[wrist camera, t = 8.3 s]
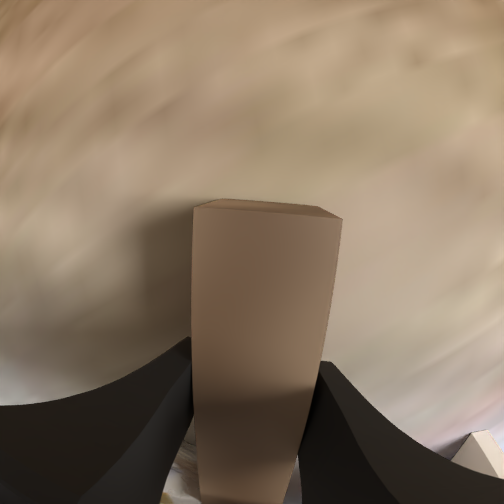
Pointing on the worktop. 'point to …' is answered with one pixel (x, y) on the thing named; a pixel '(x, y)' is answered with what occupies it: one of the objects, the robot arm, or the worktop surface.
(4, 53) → the worktop surface
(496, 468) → the cream step stool
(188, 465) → the clear glass cup
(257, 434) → the tan long block
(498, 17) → the worktop surface
